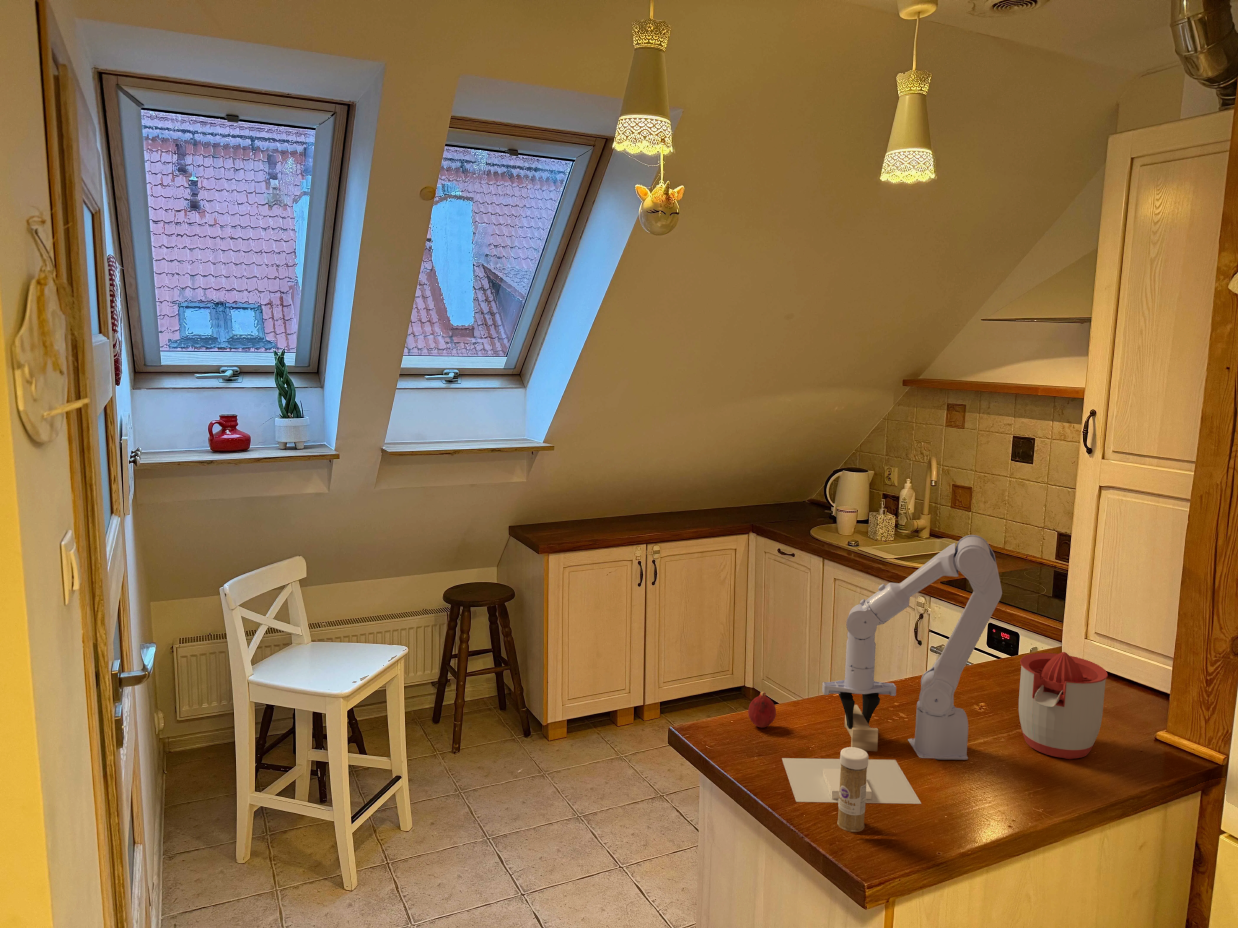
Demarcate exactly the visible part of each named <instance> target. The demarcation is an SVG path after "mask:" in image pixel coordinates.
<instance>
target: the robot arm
mask: <svg viewBox="0 0 1238 928" xmlns="http://www.w3.org/2000/svg"><path fill="white" fill-rule="evenodd" d="M959 572H960V573H961V574H962V576H963V577H965V578H966V580H968V583H969V584H970V587H971V589H972V590H973V592H972V594H971V595H970V597H969V599H968V601H967V603H966V606H965V607H964V609H963V611H962V612H961V615H960V617H959V619H958V621H957V622H956V625H955V627H954V629H953V631H952V633H951V634H950V636H949V638H948V641H947V642H946V644H945V646H944V648H943V650H942V652H941V654H940V656H939V657H938V658H937V659H936V660H935V662H934V664H933V665H932V667H930V668H929V669H928V670H926V671H925V672H924V673H923V674H922V676H921V679H920V685H921V686H920V692H919V695H918V696H919V697H918V701H917V702H916V711H915V712H916V714H915V732H914V738H908V739H907V741H908V742H909V744H910V746H911V747H912V749H913V750H914V752H915V754H916V755H917V756H918V757H919V758H920V759H934V760H956V761H957V760H960V761H961V760H963V761H965V760H966V761H968V759H969V757H968V755H967V754H968V753H967V752H968V742H969V741H968V739H969V720H968V716H967V712H965V709H963V708H961V707H956V706H955V705H954V701H955V697H954V695H955V691H956V690H957V687H958V685H959V682H960V678H961V676H962V672H963V670H964V669H965V667H966V666H967V663H968V661H969V659H970V657H971V655H972V654H973V652H974V650H975V648H976V646H977V644H978V642H979V640H980V638H981V636H982V634H983V632H985V631H984V630H985V629H986V627H987V625H988V623H989V621H990V619H991V617H992V615H993V614H994V612H995V610H996V608H997V606H998V603H999V602H1000V600H1001V598H1002V595H1003V590H1002V589H1003V588H1002V584H1001V579H1000V574H999V568H998V565H997V560H996V555H995V552H994V551H993V549H992V548H991V546H990V544H989V543H988V541H987V540H986V539H985V538H983V537H982V536H980V535H977V534H969V535H968V534H967V535H965V536H963V537H962V538H960V539H959V540H958V542H957V543H956V542H954V543H951V544H950V545H948V546H947V547H945V548H944V549H943V550H941V551H940V552H939V553H937V554H935V555H934V556H933V557H932V558H931V559H929V560H928V561H927V562H926V563H924V564H923V565H922V566H920V567H919V568H918V569H917V570H915V571H914V572H913V573H912V574H910V575H908V577H907V578H905V579H904V580H902V581H901V582H899V583H898V582H889V583H887V584H885V583H881V584H880V585H879V586H878V588H877V590H878V591H876V592H875V593H874V594H872V595H871V596H869V597H868V598H867V599H865V598H863V599H861V600H860V601H859V604H856V605H854V606H853V607H851V609H850V610H849V613H848V616H847V618H846V621H845V622H846V626H845V627H846V629H847V635H846V637H847V640H846V645H845V647H846V648H845V649H846V650H845V667H844V668H845V670H844V671H845V672H844V679H843V680H834V681H833V680H832V681H823V682H822V687H821V688H822V689H821V691H822V693H823V695H825V696H827V695H828V696H829V695H830V694H838V697H839V699H840V702H841V703H842V704H841V705H842V707H843V710H844V716H845V715H846V721H847V726H848V728H849V729H852V728H853V710H854V705H856V703H855V700H854V696H853V695H861V697H862V701H861V702H862V708H861V709H862V710H861V712H862V714H863V716H864V718H865V719H866V721H867V723H868V724H870V722H871V719H872V716H873V714H874V712H875V710H876V709H877V707H878V706H879V705H880V703H881V702H880V701H881V698H880V695H890V696H892V697H895V696H896V695H897V686H896V684H895V683H893V682H881V681H875V668H876V667H875V665H876V649H877V648H876V645H877V644H876V639H875V638H876V631H877V628H878V626H881V625H884V624H886V623H888V622H889V621H890V620H891V619H892V618H894V617H895V616H897V615H898V614H900V613H901V612H903V611H904V610H906V609H907V608H908V607H909V606H910V599H911V597H913V596H914V595H915V594H917V593H919V592H920V591H922V590H923V589H925V588H926V587H928V586H930V585H931V584H933V583H935V581H937V580H939V579H940V578H942V577H954V578H957V577H959Z"/></svg>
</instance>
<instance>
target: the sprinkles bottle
mask: <svg viewBox="0 0 1238 928" xmlns="http://www.w3.org/2000/svg"><path fill="white" fill-rule="evenodd" d="M839 754H840V756H839V759H840V763H841V772H840V789H839V801H838V803H837V804H838V805H837V806H838V813H837V822H836V823H837V826H838V827H839V828H840V829H842V830H844V831H846V832H850V833H857V832H861V831H863V830H864V829H865V826H866V825H865V812H866V803H865V801H866V775H867V767H868V759H869V754H868V751H864V750H862V749H859V748H855V747H851V746H849V747H848V746H847V747H844V748H843V749H841V750H840V753H839Z"/></svg>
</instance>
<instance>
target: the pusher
mask: <svg viewBox="0 0 1238 928" xmlns="http://www.w3.org/2000/svg"><path fill="white" fill-rule="evenodd" d="M869 724H870V723H869ZM869 724H868V723H867V721H866V719H865V718H864V716H863V714H862V710H861V709H860V708H859V705H858V704H854V710H853V728H852V729H849V728H848V726H847V721H846V715H845V714H844V728H846V730H847V732H848V734H849V736H850V737H851V738H850V739H851V740H850V747H855V748H859V749H862V750H864V751H866V752H878V743H879V742H878V741H879V729H878V728H877V727H871V725H869Z"/></svg>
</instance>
